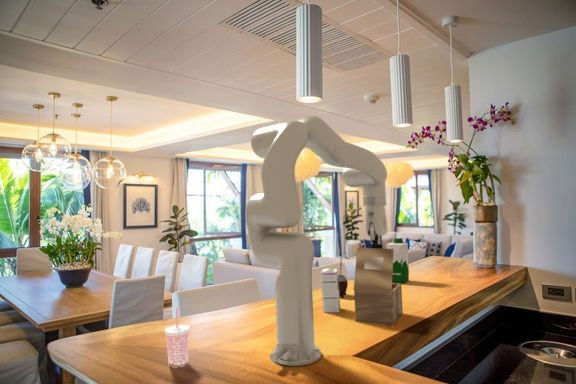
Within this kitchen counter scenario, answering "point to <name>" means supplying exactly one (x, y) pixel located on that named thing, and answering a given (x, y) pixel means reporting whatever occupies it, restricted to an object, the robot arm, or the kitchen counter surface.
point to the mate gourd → (342, 282)
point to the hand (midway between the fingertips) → (377, 256)
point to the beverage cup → (177, 342)
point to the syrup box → (330, 290)
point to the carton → (379, 306)
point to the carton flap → (374, 270)
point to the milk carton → (399, 261)
